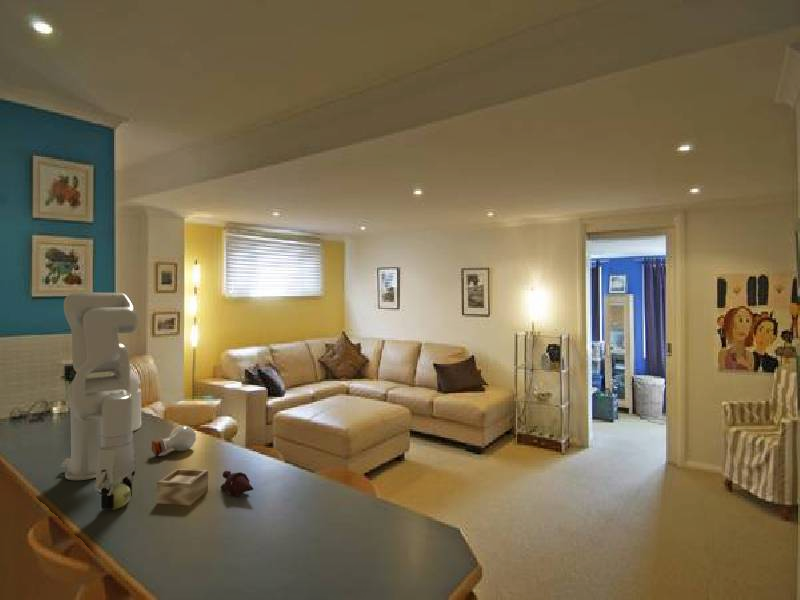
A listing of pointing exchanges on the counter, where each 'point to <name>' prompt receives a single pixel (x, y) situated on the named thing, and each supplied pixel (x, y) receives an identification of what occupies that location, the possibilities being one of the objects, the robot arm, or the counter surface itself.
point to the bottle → (135, 398)
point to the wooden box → (182, 486)
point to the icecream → (236, 483)
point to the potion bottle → (175, 440)
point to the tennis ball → (121, 495)
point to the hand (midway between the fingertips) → (117, 501)
